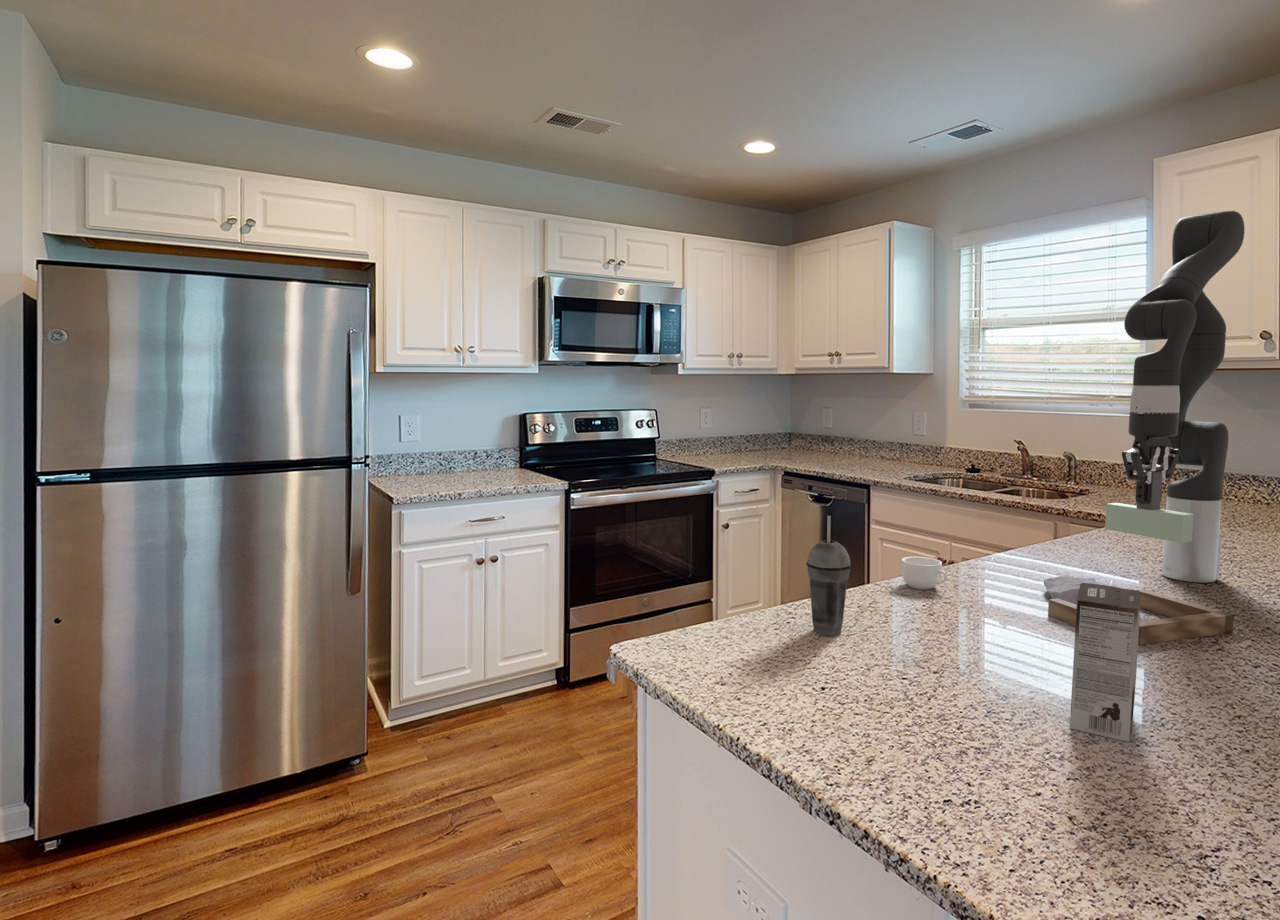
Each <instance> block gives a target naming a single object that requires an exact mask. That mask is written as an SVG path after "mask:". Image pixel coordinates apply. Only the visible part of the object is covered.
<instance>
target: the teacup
mask: <svg viewBox="0 0 1280 920" xmlns="http://www.w3.org/2000/svg"><path fill="white" fill-rule="evenodd" d="M942 567H943V562H942V561H941V560H939V559H935V558H932V557H927V556H906V557H903V558H902V559H901V572H902V579H903V580H904V583H906V585H907V586H909V587H910V588H912V589H917V590H931V589H933V588H935V587H937V585H941V584H944V583H947V581H948V580H947V579H948V575H947V572H946V571H944V570H942V569H943V568H942ZM942 574H943V580H941V577H942Z"/></svg>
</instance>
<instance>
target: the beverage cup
mask: <svg viewBox="0 0 1280 920" xmlns="http://www.w3.org/2000/svg"><path fill="white" fill-rule="evenodd" d="M831 517H832V516H831V515H827V517H826V518H827V521H826V522H827V523H826V524H827V525H826V526H827V527H826V531H827V532H826V540H821V541H819V542H817V543H816V544H815V545H814V546H812V548H811V549H810V550H809V553H808V555H807V561H806V566H807V573H808V577H809V587H810V588H809V589H810V604H811V607H810V608H811V618H812V625H813V626H812V627H813V632H814V634H816V635H819V636H825V637H837V636H839V635H841V634H842V627H843V624H844V613H845V605H846V594H847V588H848V587H847V586H848V579H849V576H850V572H851V567H852V564H851V559H850V558H851V557H850V555H849V553H848V551H847V549H846V547H844V546H843V545H842V544H840V543H839V542H838V541H835V540H831V521H832V520H831V519H832V518H831Z"/></svg>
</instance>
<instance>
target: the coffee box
mask: <svg viewBox="0 0 1280 920" xmlns="http://www.w3.org/2000/svg"><path fill="white" fill-rule="evenodd" d="M1099 584H1100V583H1098V584H1091V583H1081V584H1080V588H1079V593H1078V597H1077V609H1076V626H1075V627H1074V628H1075V630H1074V645H1073V647H1074V649H1073V663H1072V664H1073V665H1072V680H1071V681H1072V683H1071V701H1070V702H1071V703H1070V717H1069V720H1070V722H1069V728H1070V730H1075V731H1078V732H1083V733H1087V734H1091V735H1097V736H1100V737H1105V738H1109V739H1113V740H1118V741H1122V742H1126V743H1130V742H1131V741H1132V732H1133V722H1134V721H1133V720H1134V712H1135V711H1134V710H1135V709H1134V708H1135V697H1136V685H1137V668H1138V667H1137V666H1138V656H1139V655H1138V654H1139V653H1138V651H1139V645H1138V639H1139V621H1141V620H1140V619H1141V618H1140V617H1141V615H1140V614H1141V608H1140V593H1139V590H1140V589H1131V588H1121V587H1119V586H1118V587H1117V586H1111V585H1106V584H1104V585H1099Z"/></svg>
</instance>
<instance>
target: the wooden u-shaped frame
mask: <svg viewBox="0 0 1280 920" xmlns="http://www.w3.org/2000/svg"><path fill="white" fill-rule="evenodd" d="M1138 590H1139V593H1140V609H1144V610H1147V611H1150V612H1152V613H1153V612H1154V613H1157V614H1161V615H1163V616H1166V617H1164V618H1158V619H1157V618H1156V619H1155V618H1154V619H1148V620H1140V621H1139V639H1138V646H1142V645H1148V644H1156V643H1165V642H1172V641H1178V640H1179V641H1180V640H1185V639H1186V640H1187V639H1194V638H1202V637H1208V636H1215V635H1223V634H1231V633H1234V625H1235V623H1234V622H1235V614H1233V613H1229V612H1226V611H1223V610H1222V611H1221V610H1219V609H1215V608H1211V607H1207V606H1204V605H1201V604H1197V603H1195V602H1190V601H1186V600H1183V599H1181V598H1180V599H1179V598H1176V597H1173V596H1169V595H1165V594H1163V593H1158V592H1154V591H1152V590H1147V589H1144V588H1142V589H1138ZM1076 609H1077V605H1076V604H1073V603H1070V602H1067V601H1064V600H1061V599H1058V598H1057V599H1052V598H1050V599H1048V608H1047V610H1048V611H1047V616H1048V617H1050V618H1053V619H1056V620H1058V621H1061V622H1064V623H1065V624H1069V625H1072V626H1075V627H1076Z"/></svg>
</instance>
